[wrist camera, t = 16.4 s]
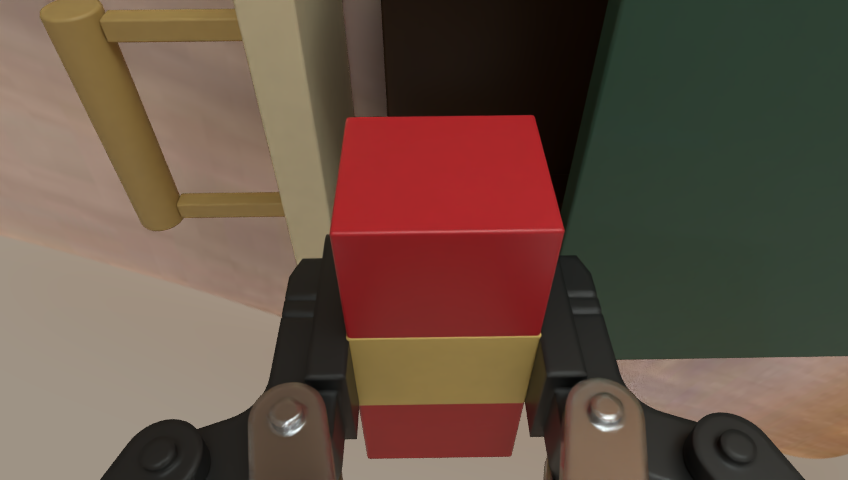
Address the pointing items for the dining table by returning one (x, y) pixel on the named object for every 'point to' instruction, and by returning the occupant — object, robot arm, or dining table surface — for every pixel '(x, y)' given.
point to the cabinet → (716, 178)
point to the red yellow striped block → (443, 277)
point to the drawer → (332, 88)
